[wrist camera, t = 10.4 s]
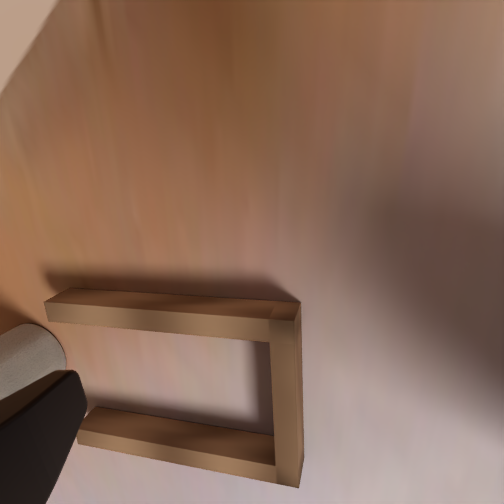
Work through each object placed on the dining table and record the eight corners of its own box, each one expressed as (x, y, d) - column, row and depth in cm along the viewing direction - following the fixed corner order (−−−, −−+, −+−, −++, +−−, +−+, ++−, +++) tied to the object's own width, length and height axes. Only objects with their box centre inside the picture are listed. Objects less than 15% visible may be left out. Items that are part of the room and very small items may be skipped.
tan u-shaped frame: (300, 302, 19) (294, 321, 17) (304, 457, 21) (298, 488, 20) (69, 288, 22) (43, 301, 21) (98, 421, 25) (78, 443, 23)
